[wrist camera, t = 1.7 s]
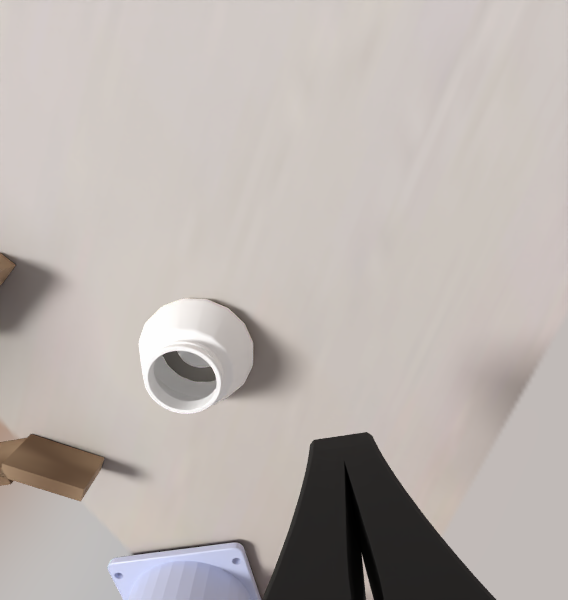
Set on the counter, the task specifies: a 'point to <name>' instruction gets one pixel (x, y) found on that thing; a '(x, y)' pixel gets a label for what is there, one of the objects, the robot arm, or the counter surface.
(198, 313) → the white jar
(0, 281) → the gear station
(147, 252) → the counter surface
